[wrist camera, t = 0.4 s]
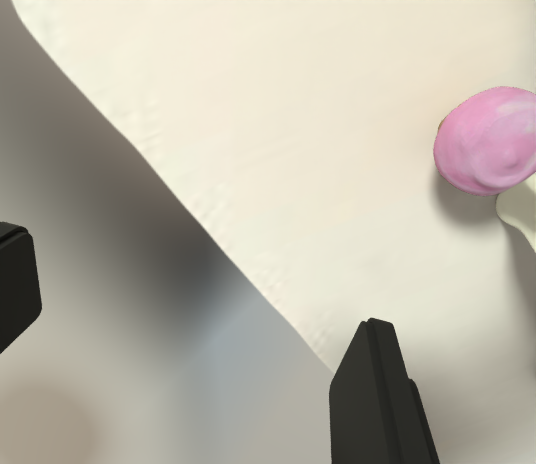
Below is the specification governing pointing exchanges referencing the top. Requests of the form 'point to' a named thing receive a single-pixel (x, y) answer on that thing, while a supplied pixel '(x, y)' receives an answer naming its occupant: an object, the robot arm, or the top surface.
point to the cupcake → (488, 141)
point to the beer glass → (520, 208)
